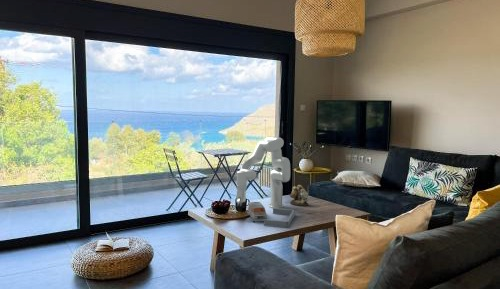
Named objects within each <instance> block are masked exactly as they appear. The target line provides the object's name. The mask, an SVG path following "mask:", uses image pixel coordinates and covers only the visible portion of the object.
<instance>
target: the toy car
mask: <svg viewBox="0 0 500 289" xmlns="http://www.w3.org/2000/svg"><path fill="white" fill-rule="evenodd" d="M247 213H248V216H249V217H251V219H252V223H256V222H264V219H268V214H267V211H266V207H265V206H264V204H263V203H262V202H260V201H251V202H250V201H249V202H248V206H247Z"/></svg>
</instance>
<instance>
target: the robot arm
mask: <svg viewBox="0 0 500 289" xmlns="http://www.w3.org/2000/svg"><path fill="white" fill-rule="evenodd" d="M284 143H285V142H284V139H283V138H281V137H279V136H267V137H265V138H264V140H259V141H258V142H257V144H256V146H255V148H254V150H253V152H252V154H251V156H250V157H248V158H247V159H246V160H245V161H244V162H243V164H241V167H240V169H239V170H238V171H237V172H236V190H237V191H236V201H235V202H236V204H237V207H236V208H237V210H236V211H238V212H242V210H243V209H246V198H247V196H246V195H247V194H246V193H247V192H246V191H247V188H248V186H247V184H248V183H247V181H253V180H255V179H256V178H257V172H256V170H252V169H250V167H252V166H253V165H255V164H259V163H261V162H262V161H263V158H264V157H265V153H266V152H267V153H268V152H269V153H271V154H270V155H271V157H270V158H271V166H272V167H273V169H272V170H271V171H270V174H269V176H270V177H269V178H270V185H271V186H270V187H271V188H270V189H271V190H270V204H268V207H269V208H271V209H273V208H278V209H284V207H285V205H284V204H283V190H284V188H283V183H287V182H289V181H290V180H291V163H290V162H291V161H290V160H289V158H287V157H284V156H283V154H282V149H281V148H282V147H283V146H284Z"/></svg>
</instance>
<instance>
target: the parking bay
mask: <svg viewBox="0 0 500 289" xmlns="http://www.w3.org/2000/svg"><path fill="white" fill-rule="evenodd" d="M272 214H274V215H285V216H287V215H288V217H287V219H286V220H279V219H277V220H276V219H268V218H267V219H264V221H263V226H266V227H267V226H269V227H276V228H279V227H280V228H285V229H286V228H287V229H288V228H290V225H291V223H292V221H293V219H294V217H295V216H296V210H295V209H286V208H272Z"/></svg>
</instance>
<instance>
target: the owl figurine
mask: <svg viewBox="0 0 500 289" xmlns="http://www.w3.org/2000/svg"><path fill="white" fill-rule="evenodd" d="M291 189H292V191H291V193H290V194H289V195H288V196H289V197H290V198H291V200H290V202H289V204H290V205H291V206H296V207H308V206H309V203H308V201H309V200H308V198H309V193H308V192H307V191H306V189H305V188H304V187H303V186H302V185H301V184H298V185H297V186H292V188H291Z"/></svg>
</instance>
